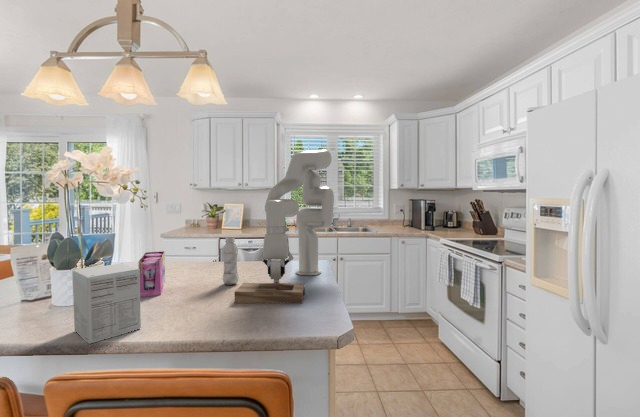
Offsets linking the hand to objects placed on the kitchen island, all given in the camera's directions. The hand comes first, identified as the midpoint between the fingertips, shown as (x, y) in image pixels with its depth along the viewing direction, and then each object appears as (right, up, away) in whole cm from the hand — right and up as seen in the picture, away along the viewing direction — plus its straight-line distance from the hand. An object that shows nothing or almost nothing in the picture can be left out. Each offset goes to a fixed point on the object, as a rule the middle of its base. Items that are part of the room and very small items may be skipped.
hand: (276, 275), depth 136 cm
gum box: (-51, -6, +2) cm, 51 cm away
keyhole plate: (-1, -6, -11) cm, 13 cm away
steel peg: (0, -6, 0) cm, 6 cm away
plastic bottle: (-21, -6, +9) cm, 23 cm away
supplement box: (-43, -8, -41) cm, 59 cm away
